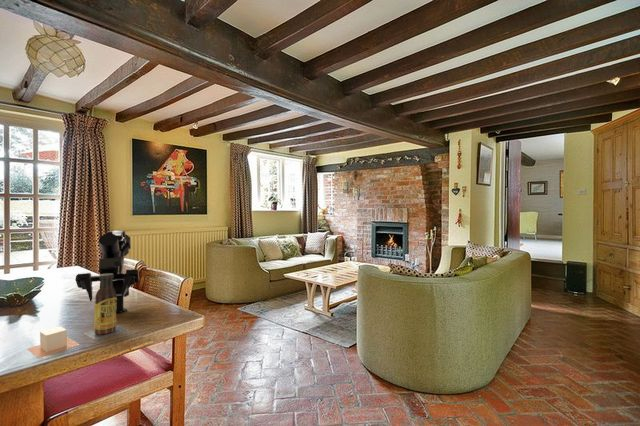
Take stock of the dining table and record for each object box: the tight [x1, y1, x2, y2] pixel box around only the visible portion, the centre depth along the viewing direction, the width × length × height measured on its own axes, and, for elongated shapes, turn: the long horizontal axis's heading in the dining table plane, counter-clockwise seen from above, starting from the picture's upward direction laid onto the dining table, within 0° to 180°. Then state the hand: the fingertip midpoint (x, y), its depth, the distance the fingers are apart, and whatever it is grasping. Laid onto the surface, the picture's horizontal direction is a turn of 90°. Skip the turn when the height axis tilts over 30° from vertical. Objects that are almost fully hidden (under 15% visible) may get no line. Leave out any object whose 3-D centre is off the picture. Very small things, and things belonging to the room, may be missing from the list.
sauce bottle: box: [93, 273, 117, 335], centre depth 106 cm, size 6×6×20 cm
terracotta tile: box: [26, 336, 81, 359], centre depth 95 cm, size 10×10×1 cm
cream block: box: [39, 325, 68, 352], centre depth 95 cm, size 5×5×5 cm
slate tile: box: [82, 323, 130, 342], centre depth 106 cm, size 10×10×1 cm
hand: (106, 298), depth 108 cm, fingers open, 9 cm apart
